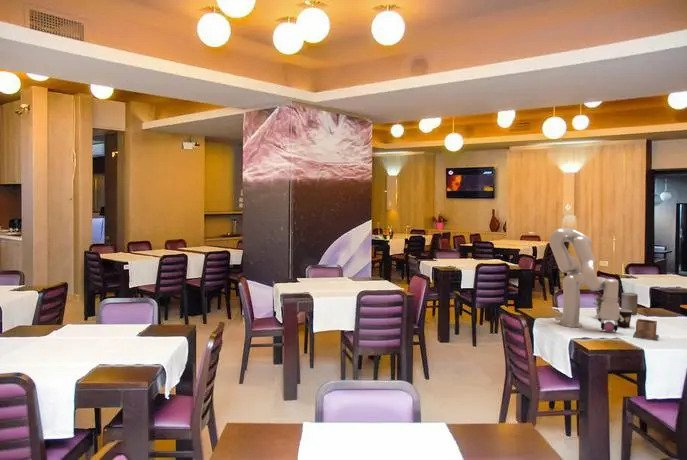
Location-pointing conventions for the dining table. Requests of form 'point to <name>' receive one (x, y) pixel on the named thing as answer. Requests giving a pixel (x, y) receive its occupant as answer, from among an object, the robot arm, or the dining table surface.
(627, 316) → the coffee mug
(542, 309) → the dining table surface
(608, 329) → the plum ball
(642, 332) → the wooden cube shelf
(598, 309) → the house plant
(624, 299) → the pillar candle
